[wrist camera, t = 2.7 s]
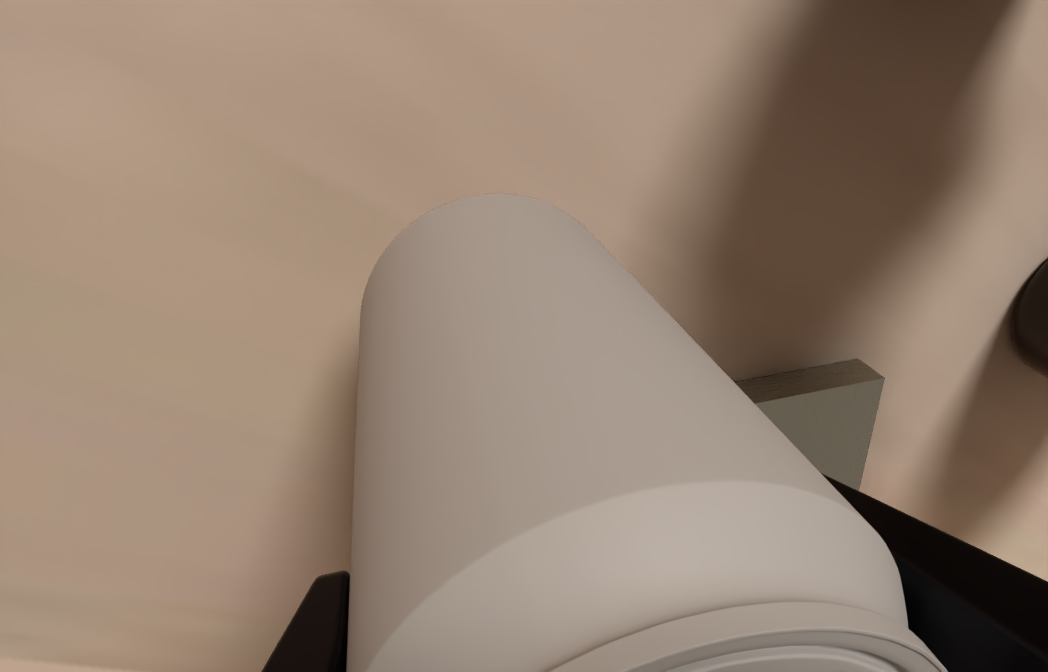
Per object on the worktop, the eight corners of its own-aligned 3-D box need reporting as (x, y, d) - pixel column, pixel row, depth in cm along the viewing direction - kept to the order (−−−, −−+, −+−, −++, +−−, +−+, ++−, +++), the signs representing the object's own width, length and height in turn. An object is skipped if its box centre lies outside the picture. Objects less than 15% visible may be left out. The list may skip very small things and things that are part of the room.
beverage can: (643, 336, 18) (1035, 812, 7) (446, 451, 18) (551, 1060, 8) (539, 132, 14) (971, 455, 4) (303, 276, 15) (147, 910, 4)
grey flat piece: (858, 358, 25) (913, 399, 23) (816, 567, 31) (856, 619, 29) (465, 434, 23) (477, 488, 21) (497, 645, 29) (509, 708, 26)
